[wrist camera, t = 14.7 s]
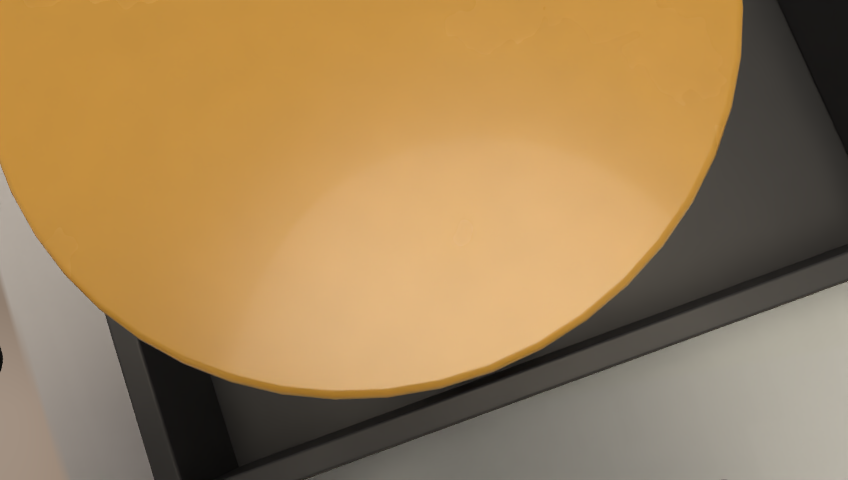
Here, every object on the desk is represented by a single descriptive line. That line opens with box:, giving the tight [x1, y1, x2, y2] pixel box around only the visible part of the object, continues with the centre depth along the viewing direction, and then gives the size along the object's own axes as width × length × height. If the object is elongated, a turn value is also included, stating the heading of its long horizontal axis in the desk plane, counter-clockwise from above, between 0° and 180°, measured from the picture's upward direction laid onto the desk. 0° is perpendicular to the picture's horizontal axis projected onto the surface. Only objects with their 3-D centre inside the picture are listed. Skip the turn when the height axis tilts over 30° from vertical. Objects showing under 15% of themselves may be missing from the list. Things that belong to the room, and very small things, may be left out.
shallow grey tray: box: [105, 0, 848, 480], centre depth 21 cm, size 19×19×4 cm
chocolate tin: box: [0, 0, 743, 400], centre depth 14 cm, size 6×6×16 cm
